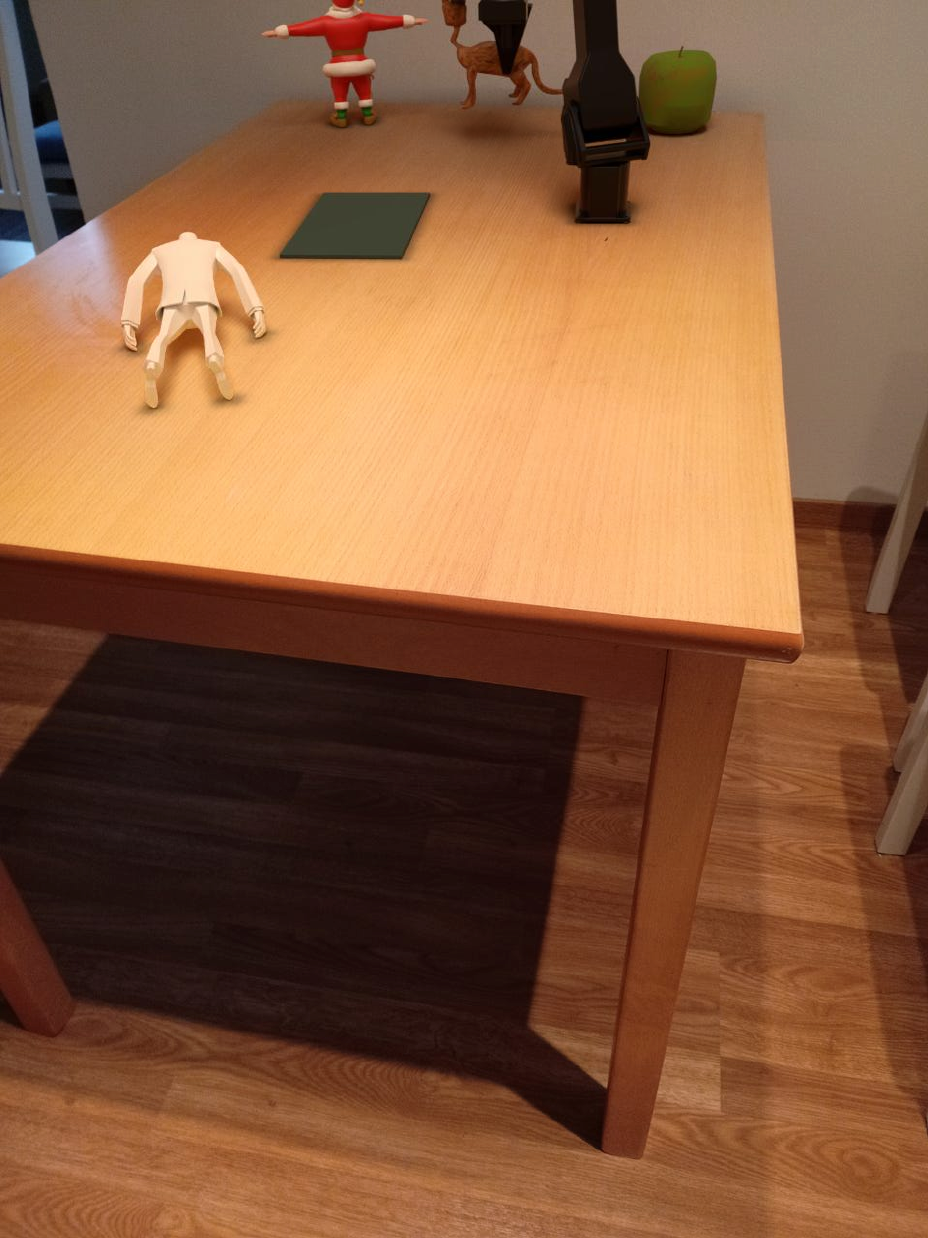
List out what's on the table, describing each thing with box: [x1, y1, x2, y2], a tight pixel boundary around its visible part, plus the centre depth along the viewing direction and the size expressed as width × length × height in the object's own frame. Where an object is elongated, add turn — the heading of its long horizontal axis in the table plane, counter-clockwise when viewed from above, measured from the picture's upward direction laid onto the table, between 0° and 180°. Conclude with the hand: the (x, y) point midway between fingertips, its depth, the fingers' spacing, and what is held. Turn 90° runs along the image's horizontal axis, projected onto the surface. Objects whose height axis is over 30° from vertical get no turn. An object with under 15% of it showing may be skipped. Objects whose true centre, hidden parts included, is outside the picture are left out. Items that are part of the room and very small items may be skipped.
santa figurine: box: [261, 0, 429, 129], centre depth 148 cm, size 25×6×19 cm, turn 103°
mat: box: [279, 192, 431, 260], centre depth 118 cm, size 22×14×1 cm, turn 173°
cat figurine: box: [441, 0, 563, 110], centre depth 136 cm, size 18×7×14 cm, turn 93°
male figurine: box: [120, 231, 267, 409], centre depth 92 cm, size 14×6×25 cm
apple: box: [638, 45, 718, 135], centre depth 142 cm, size 11×11×11 cm
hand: (508, 69), depth 138 cm, fingers closed on cat figurine, 6 cm apart
